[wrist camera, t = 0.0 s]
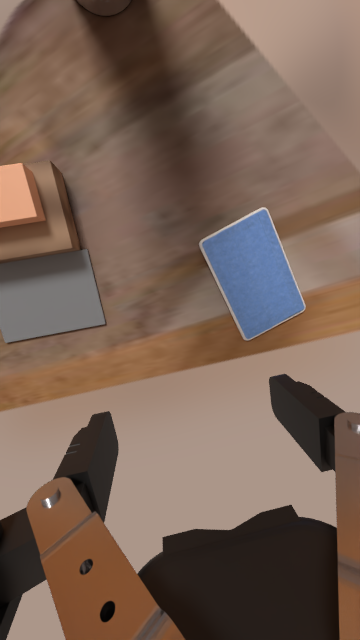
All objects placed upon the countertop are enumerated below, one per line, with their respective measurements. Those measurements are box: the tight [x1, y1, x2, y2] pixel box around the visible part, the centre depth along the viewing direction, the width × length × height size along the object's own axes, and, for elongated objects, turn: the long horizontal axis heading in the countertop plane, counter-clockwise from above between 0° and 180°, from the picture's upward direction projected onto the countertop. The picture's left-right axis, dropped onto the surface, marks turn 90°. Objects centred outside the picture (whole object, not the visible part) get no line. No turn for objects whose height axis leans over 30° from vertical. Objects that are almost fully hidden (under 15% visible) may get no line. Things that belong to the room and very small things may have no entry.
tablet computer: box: [199, 208, 305, 341], centre depth 41 cm, size 19×13×1 cm, turn 27°
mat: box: [0, 249, 106, 343], centre depth 38 cm, size 12×16×1 cm
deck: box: [0, 160, 81, 264], centre depth 33 cm, size 11×14×4 cm
